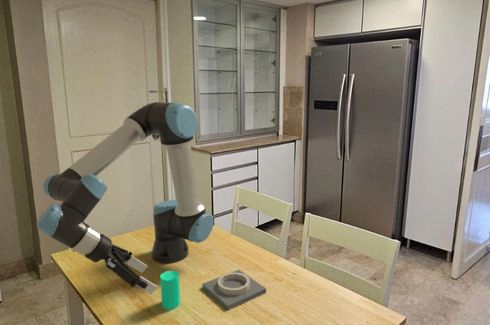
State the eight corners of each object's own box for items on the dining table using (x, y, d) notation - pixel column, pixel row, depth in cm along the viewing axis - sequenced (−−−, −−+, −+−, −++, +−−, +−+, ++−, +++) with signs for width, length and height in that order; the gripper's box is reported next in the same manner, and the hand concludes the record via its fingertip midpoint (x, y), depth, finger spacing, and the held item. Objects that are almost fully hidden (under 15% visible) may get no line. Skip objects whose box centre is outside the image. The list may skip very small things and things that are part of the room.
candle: (184, 301, 117) (182, 268, 114) (171, 311, 112) (169, 277, 109) (170, 296, 120) (168, 264, 117) (157, 305, 115) (155, 272, 112)
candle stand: (202, 287, 125) (202, 278, 125) (238, 273, 135) (238, 264, 134) (227, 309, 113) (227, 300, 112) (266, 292, 122) (266, 283, 121)
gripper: (81, 238, 111) (133, 270, 121) (85, 275, 89) (149, 311, 99) (97, 219, 112) (148, 253, 122) (106, 251, 90) (167, 289, 100)
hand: (149, 279), depth 110 cm, fingers open, 13 cm apart
